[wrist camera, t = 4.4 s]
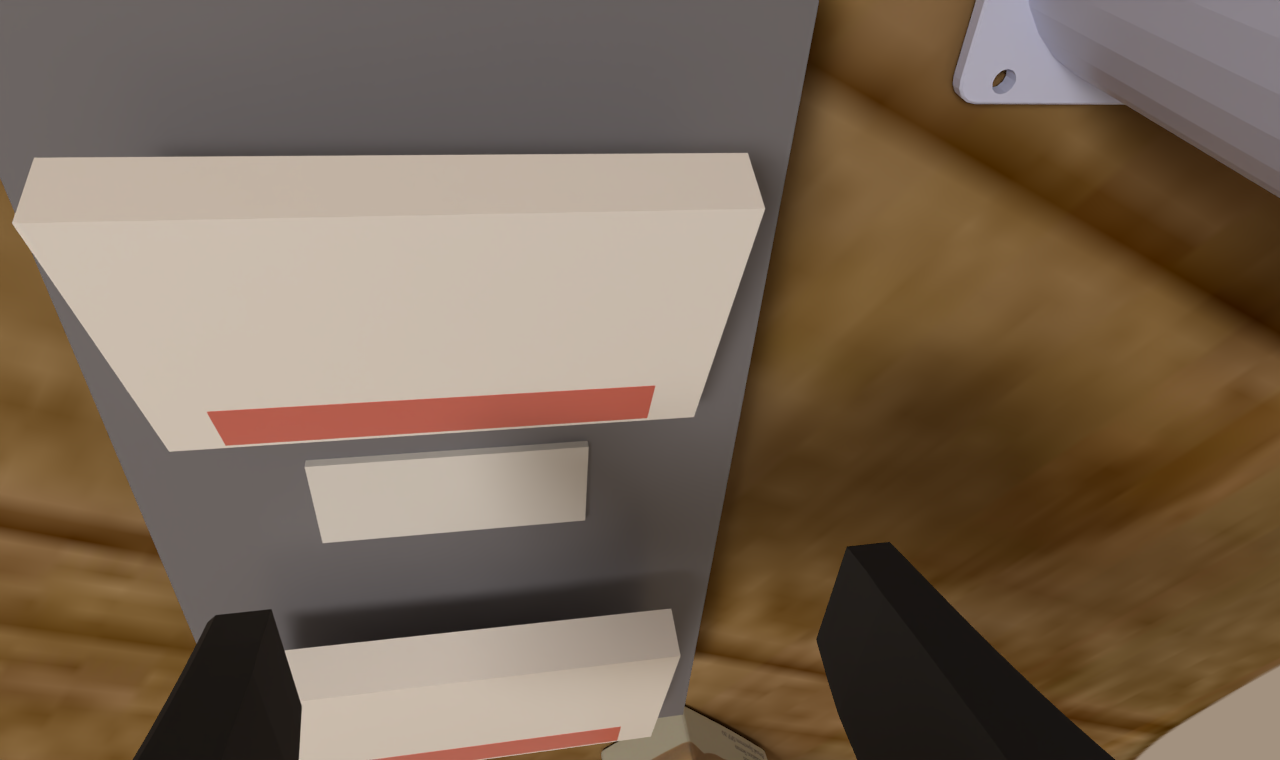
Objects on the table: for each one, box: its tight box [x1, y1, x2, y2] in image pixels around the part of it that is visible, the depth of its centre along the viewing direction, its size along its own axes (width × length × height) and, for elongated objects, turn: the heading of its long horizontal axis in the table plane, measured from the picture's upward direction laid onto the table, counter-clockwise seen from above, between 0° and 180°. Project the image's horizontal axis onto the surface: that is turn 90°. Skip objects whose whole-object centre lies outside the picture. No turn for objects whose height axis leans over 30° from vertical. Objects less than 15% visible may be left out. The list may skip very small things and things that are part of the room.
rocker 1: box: [12, 153, 765, 452], centre depth 15 cm, size 10×6×1 cm, turn 86°
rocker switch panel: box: [0, 0, 819, 718], centre depth 20 cm, size 13×22×3 cm, turn 176°
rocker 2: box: [284, 609, 681, 760], centre depth 22 cm, size 10×6×1 cm, turn 86°
